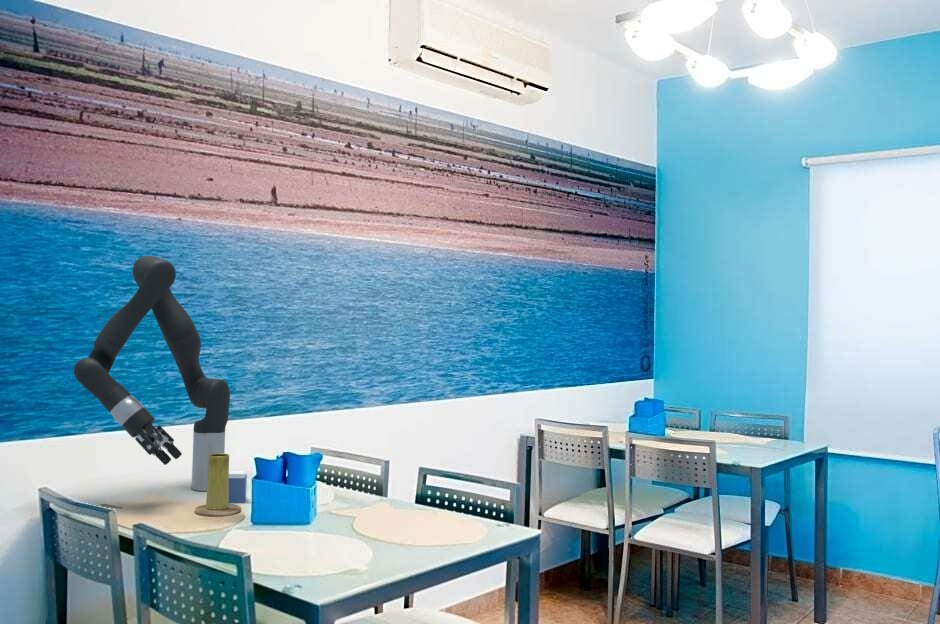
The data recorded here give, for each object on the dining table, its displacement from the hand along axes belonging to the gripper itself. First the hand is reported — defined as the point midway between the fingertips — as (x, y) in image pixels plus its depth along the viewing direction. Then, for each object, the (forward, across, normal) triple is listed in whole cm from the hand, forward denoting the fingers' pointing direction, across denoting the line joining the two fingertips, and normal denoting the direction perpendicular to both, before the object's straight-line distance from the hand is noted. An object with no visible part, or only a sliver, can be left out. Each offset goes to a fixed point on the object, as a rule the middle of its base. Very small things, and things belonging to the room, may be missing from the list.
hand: (174, 459), depth 231 cm
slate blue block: (+20, +12, 0) cm, 23 cm away
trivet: (+18, -1, +1) cm, 18 cm away
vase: (+18, -1, 0) cm, 18 cm away
